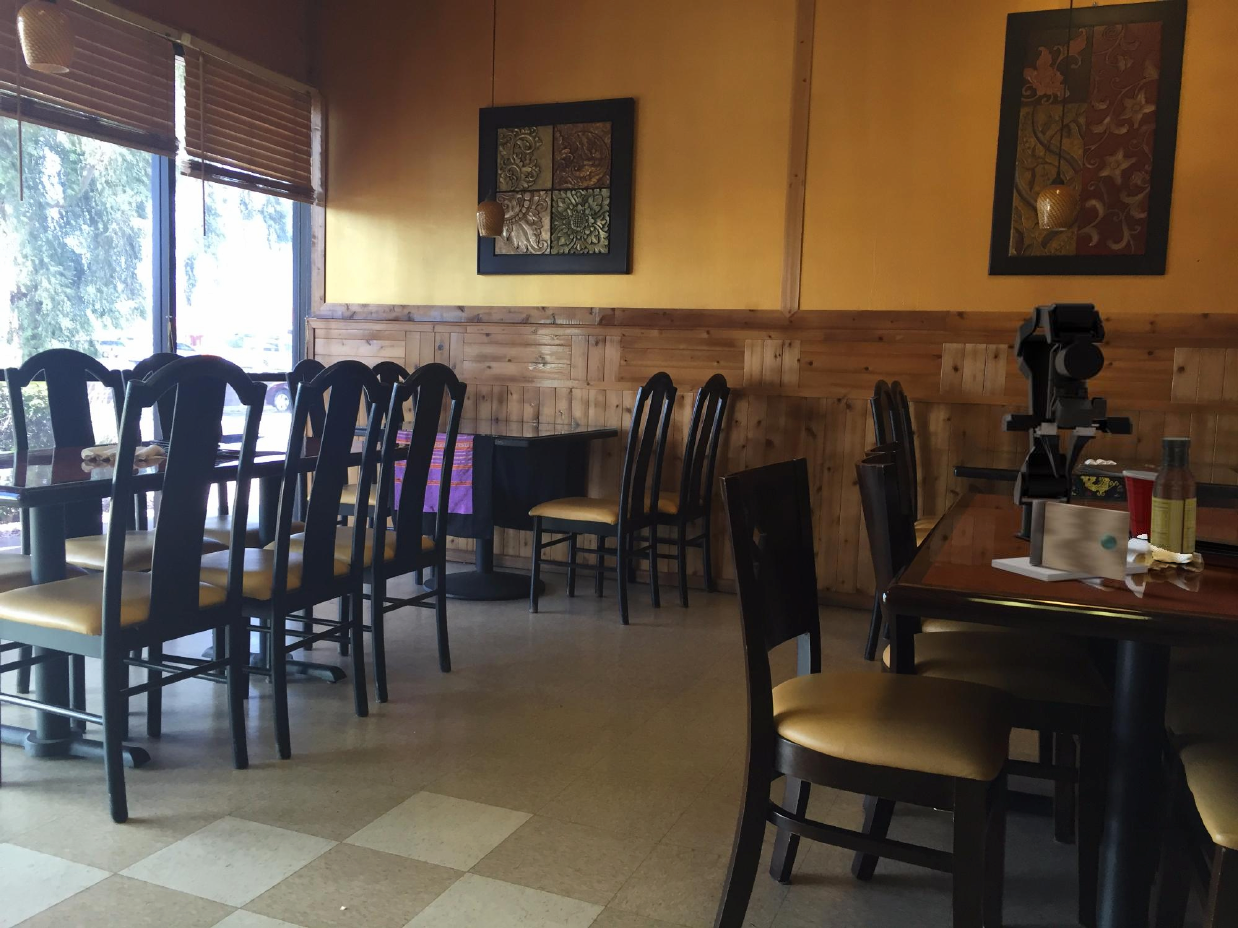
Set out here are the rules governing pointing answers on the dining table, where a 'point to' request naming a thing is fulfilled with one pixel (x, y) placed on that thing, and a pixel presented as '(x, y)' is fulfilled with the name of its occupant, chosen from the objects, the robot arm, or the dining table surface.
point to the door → (1080, 539)
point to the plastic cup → (1140, 500)
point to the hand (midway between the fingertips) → (1062, 477)
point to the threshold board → (1052, 569)
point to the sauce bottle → (1174, 499)
